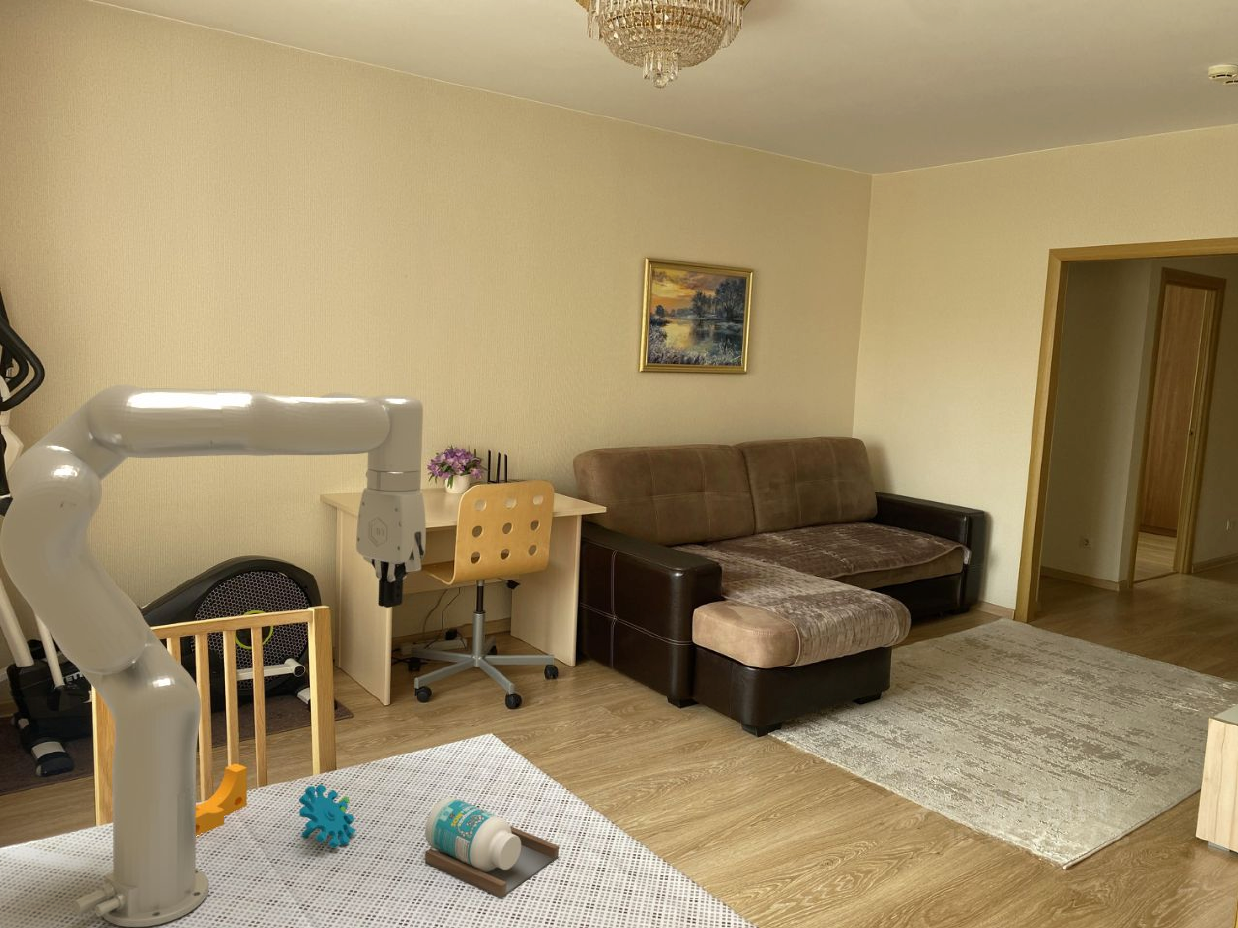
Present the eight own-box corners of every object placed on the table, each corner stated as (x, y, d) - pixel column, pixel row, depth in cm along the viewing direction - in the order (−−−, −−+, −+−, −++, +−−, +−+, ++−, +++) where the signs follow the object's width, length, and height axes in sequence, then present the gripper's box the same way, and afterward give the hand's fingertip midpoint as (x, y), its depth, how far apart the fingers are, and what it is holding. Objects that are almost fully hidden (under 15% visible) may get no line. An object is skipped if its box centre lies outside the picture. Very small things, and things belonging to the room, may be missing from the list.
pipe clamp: (186, 843, 134) (186, 800, 134) (166, 834, 136) (166, 792, 136) (254, 809, 145) (254, 770, 144) (235, 802, 147) (235, 763, 146)
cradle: (501, 898, 125) (501, 885, 125) (425, 863, 132) (425, 851, 132) (558, 857, 136) (559, 845, 136) (485, 826, 143) (485, 815, 143)
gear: (332, 852, 131) (293, 793, 133) (303, 876, 132) (264, 817, 134) (372, 825, 142) (335, 771, 143) (344, 848, 143) (308, 794, 144)
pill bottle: (459, 787, 139) (529, 816, 132) (458, 833, 140) (527, 865, 133) (422, 807, 133) (493, 839, 125) (421, 855, 134) (492, 890, 127)
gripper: (338, 477, 135) (335, 600, 137) (412, 490, 127) (408, 621, 129) (377, 473, 141) (374, 591, 143) (450, 485, 133) (446, 610, 135)
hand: (390, 605), depth 136 cm, fingers closed
